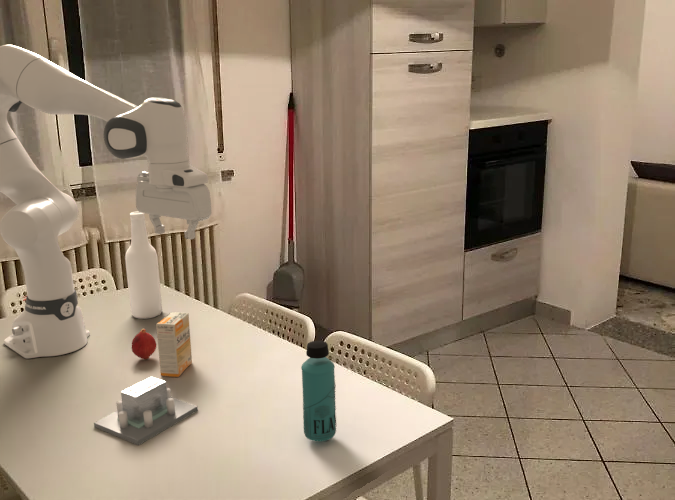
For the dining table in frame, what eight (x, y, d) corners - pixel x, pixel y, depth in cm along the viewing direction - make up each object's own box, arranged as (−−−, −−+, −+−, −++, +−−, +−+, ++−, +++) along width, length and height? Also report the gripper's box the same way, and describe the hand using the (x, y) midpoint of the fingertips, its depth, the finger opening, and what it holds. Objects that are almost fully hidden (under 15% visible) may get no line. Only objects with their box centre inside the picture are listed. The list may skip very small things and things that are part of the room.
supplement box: (179, 377, 163) (174, 325, 159) (160, 376, 164) (155, 323, 160) (193, 362, 171) (189, 312, 167) (174, 361, 172) (170, 311, 168)
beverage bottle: (310, 452, 131) (307, 353, 126) (298, 435, 137) (294, 340, 132) (342, 444, 134) (340, 346, 128) (328, 428, 140) (326, 334, 134)
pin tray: (94, 427, 142) (92, 409, 141) (154, 395, 155) (153, 378, 154) (138, 445, 135) (136, 426, 134) (197, 410, 148) (196, 393, 147)
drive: (123, 418, 142) (120, 391, 141) (153, 402, 149) (151, 376, 147) (138, 424, 140) (135, 396, 138) (168, 407, 147) (166, 380, 145)
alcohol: (165, 308, 208) (156, 208, 200) (159, 318, 199) (149, 215, 191) (134, 309, 208) (124, 209, 199) (128, 320, 199) (117, 216, 191)
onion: (139, 366, 169) (136, 335, 167) (128, 359, 173) (125, 328, 171) (161, 359, 173) (158, 329, 171) (150, 352, 177) (147, 322, 175)
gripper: (125, 172, 156) (132, 233, 160) (192, 180, 145) (197, 245, 149) (147, 168, 161) (153, 227, 165) (214, 175, 150) (218, 238, 154)
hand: (174, 235), depth 157 cm, fingers open, 8 cm apart
